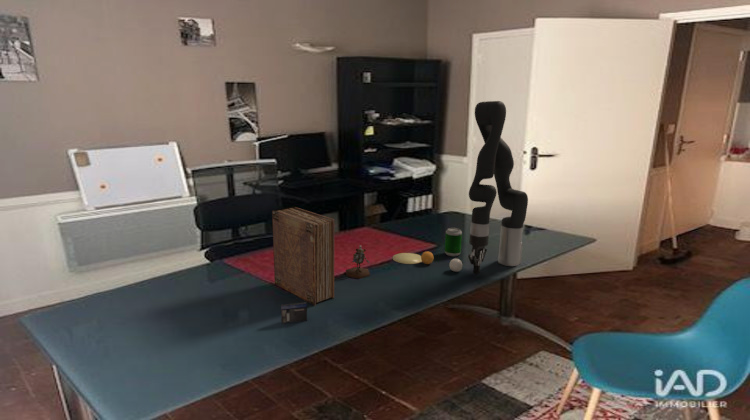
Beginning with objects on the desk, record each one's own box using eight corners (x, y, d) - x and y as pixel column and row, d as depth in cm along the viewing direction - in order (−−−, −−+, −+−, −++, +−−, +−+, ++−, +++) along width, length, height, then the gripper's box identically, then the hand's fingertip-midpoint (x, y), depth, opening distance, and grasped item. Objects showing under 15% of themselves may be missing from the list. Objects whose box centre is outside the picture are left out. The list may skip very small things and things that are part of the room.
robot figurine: (353, 280, 195) (353, 252, 192) (339, 273, 202) (340, 246, 199) (374, 274, 202) (375, 246, 199) (361, 267, 208) (361, 241, 205)
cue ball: (456, 268, 210) (457, 256, 209) (464, 272, 206) (465, 260, 204) (446, 270, 208) (447, 257, 207) (454, 274, 203) (455, 262, 202)
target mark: (412, 251, 230) (412, 251, 230) (429, 261, 218) (429, 260, 218) (386, 255, 223) (386, 255, 223) (402, 265, 211) (402, 265, 211)
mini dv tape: (281, 323, 159) (281, 306, 157) (281, 321, 160) (280, 304, 159) (307, 320, 161) (306, 304, 160) (306, 318, 162) (306, 302, 161)
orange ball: (428, 260, 219) (429, 249, 217) (435, 264, 214) (436, 252, 212) (418, 262, 216) (418, 250, 215) (425, 266, 211) (425, 254, 210)
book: (334, 298, 178) (334, 219, 170) (314, 306, 172) (313, 224, 164) (294, 278, 195) (292, 205, 188) (274, 284, 189) (272, 209, 182)
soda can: (461, 257, 224) (463, 232, 221) (445, 256, 224) (446, 231, 221) (459, 251, 231) (461, 227, 228) (443, 251, 231) (444, 227, 228)
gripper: (480, 238, 189) (477, 280, 194) (494, 231, 200) (491, 270, 204) (463, 235, 194) (460, 275, 198) (477, 227, 204) (474, 266, 208)
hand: (476, 273), depth 201 cm, fingers closed
